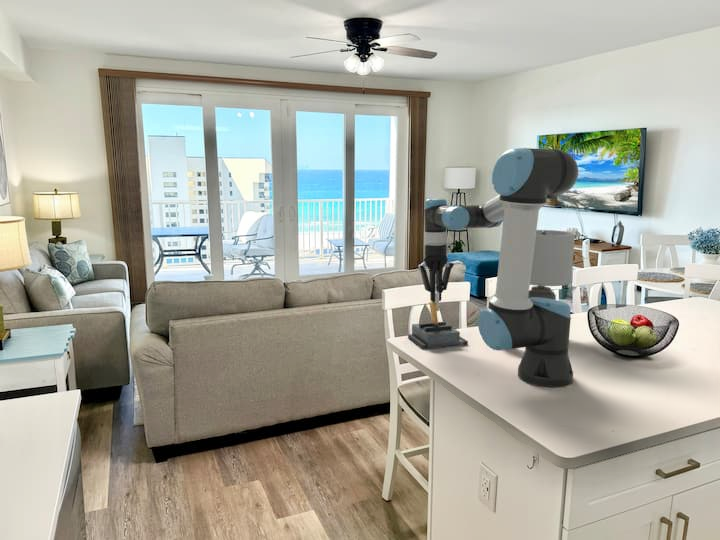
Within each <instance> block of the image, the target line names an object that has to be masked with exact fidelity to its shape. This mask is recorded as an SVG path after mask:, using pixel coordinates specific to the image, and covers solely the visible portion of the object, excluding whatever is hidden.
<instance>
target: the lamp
mask: <svg viewBox="0 0 720 540" xmlns="http://www.w3.org/2000/svg"><path fill="white" fill-rule="evenodd" d="M575 237H576V233H575V232H572V231H566V230H553V229H550V230H549V229H537V230H536V238H535V246H534V254H533V262H532V270H531V278H530V286H531V289H529V295H528V298H530V297H540V298H548V299H553V300H556V299H557V295H556V294H555V292H553V291H552V288H551V287H560V286H561V287H563V286H568V285H571V284H572V281H573V269H574V267H573V266H574V254H575V253H574V252H575V239H576V238H575Z"/></svg>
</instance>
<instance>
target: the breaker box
mask: <svg viewBox="0 0 720 540" xmlns="http://www.w3.org/2000/svg"><path fill="white" fill-rule="evenodd" d="M438 324H439V326H435V325H433V324H432V322H425V323H423V322H422V323H412V324H411V334H412V335H413V336H415V337H416V338H417V339H419V340H420V341H422V342H423V343H424V344H426V349H427V350H431V349H442V348H451V347H460V346H459V341H460V337H461V336H460V335H461V332H460V331H459V330H457V329H455V328H454V327H453V325H451V324H447V323H446V321H438Z"/></svg>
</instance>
